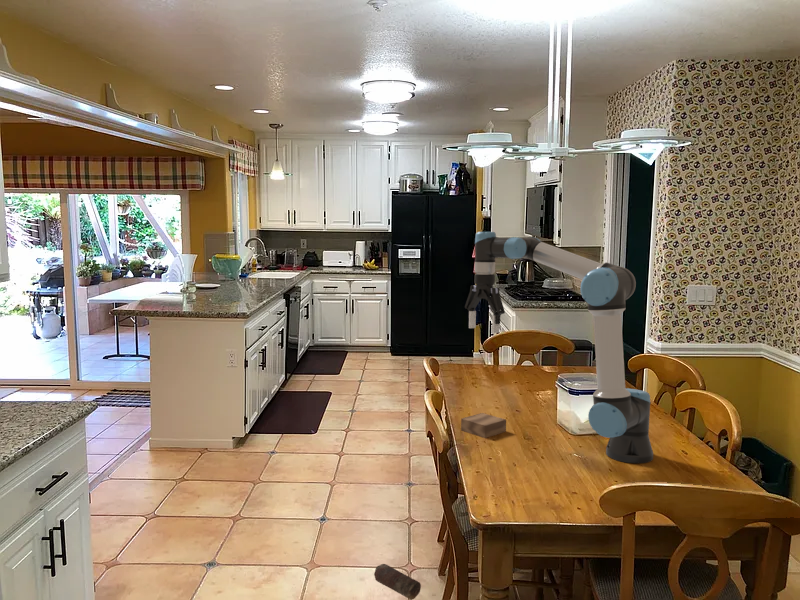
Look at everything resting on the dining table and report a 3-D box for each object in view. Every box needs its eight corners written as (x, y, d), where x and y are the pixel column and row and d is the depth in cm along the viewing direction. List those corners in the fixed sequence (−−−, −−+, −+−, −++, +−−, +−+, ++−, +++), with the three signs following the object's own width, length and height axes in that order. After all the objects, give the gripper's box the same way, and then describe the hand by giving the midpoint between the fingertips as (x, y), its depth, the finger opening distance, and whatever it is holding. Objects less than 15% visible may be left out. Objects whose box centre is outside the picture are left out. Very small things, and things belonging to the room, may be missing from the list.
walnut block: (505, 432, 247) (506, 419, 246) (484, 438, 239) (485, 425, 238) (482, 425, 256) (482, 412, 255) (461, 431, 248) (461, 418, 247)
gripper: (515, 275, 232) (514, 333, 235) (471, 271, 253) (470, 325, 256) (499, 275, 228) (498, 335, 231) (456, 272, 249) (455, 326, 252)
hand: (483, 330), depth 243 cm, fingers open, 13 cm apart
